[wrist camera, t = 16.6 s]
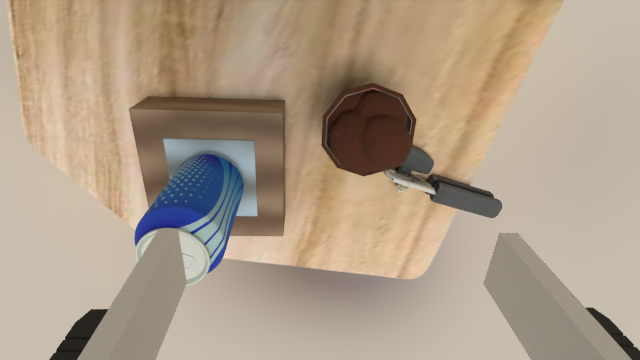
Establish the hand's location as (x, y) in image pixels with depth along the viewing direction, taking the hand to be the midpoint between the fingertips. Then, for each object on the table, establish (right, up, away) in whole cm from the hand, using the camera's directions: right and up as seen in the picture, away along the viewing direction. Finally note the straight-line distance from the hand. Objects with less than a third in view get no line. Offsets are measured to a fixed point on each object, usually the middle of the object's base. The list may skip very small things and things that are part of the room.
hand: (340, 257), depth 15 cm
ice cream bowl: (+4, +13, +35) cm, 38 cm away
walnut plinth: (-15, +6, +37) cm, 41 cm away
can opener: (+17, +4, +41) cm, 44 cm away
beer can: (-15, +3, +32) cm, 35 cm away
